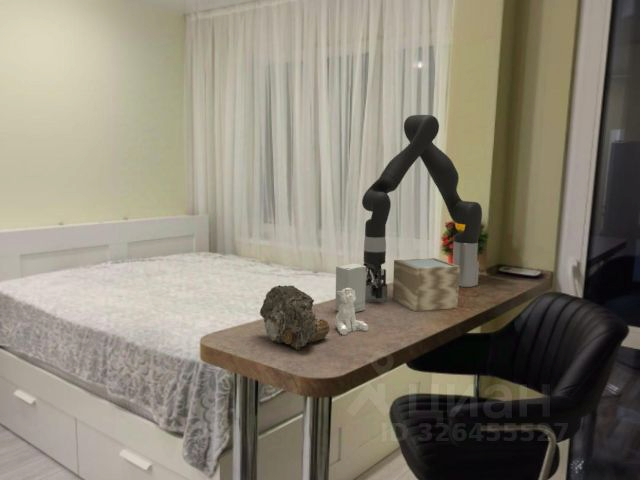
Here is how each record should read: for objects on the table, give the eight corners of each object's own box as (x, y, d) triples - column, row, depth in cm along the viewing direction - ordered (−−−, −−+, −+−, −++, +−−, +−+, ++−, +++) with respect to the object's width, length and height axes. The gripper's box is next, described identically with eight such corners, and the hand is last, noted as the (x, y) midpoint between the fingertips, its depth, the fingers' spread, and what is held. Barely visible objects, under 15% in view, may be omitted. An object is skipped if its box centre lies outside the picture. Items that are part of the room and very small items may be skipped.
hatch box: (432, 296, 189) (434, 258, 187) (457, 307, 174) (459, 266, 172) (392, 299, 184) (394, 260, 182) (414, 311, 169) (416, 268, 167)
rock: (262, 280, 132) (311, 265, 140) (251, 311, 143) (298, 294, 150) (297, 341, 124) (347, 320, 132) (283, 368, 134) (330, 348, 142)
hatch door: (432, 261, 186) (433, 259, 185) (452, 268, 173) (453, 265, 173) (399, 263, 181) (399, 260, 181) (417, 270, 169) (417, 267, 169)
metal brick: (380, 297, 186) (381, 281, 186) (386, 301, 182) (387, 284, 181) (359, 299, 184) (360, 282, 183) (365, 302, 179) (365, 285, 178)
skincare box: (353, 306, 173) (354, 262, 171) (366, 310, 169) (367, 265, 167) (334, 310, 168) (334, 265, 166) (346, 315, 163) (347, 268, 161)
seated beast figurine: (341, 336, 143) (342, 293, 141) (324, 327, 150) (325, 287, 148) (369, 331, 148) (370, 289, 146) (351, 323, 155) (352, 283, 153)
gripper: (393, 252, 175) (392, 299, 177) (376, 246, 188) (374, 290, 190) (373, 253, 172) (371, 301, 175) (356, 246, 186) (355, 291, 188)
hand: (373, 295), depth 183 cm, fingers open, 8 cm apart
